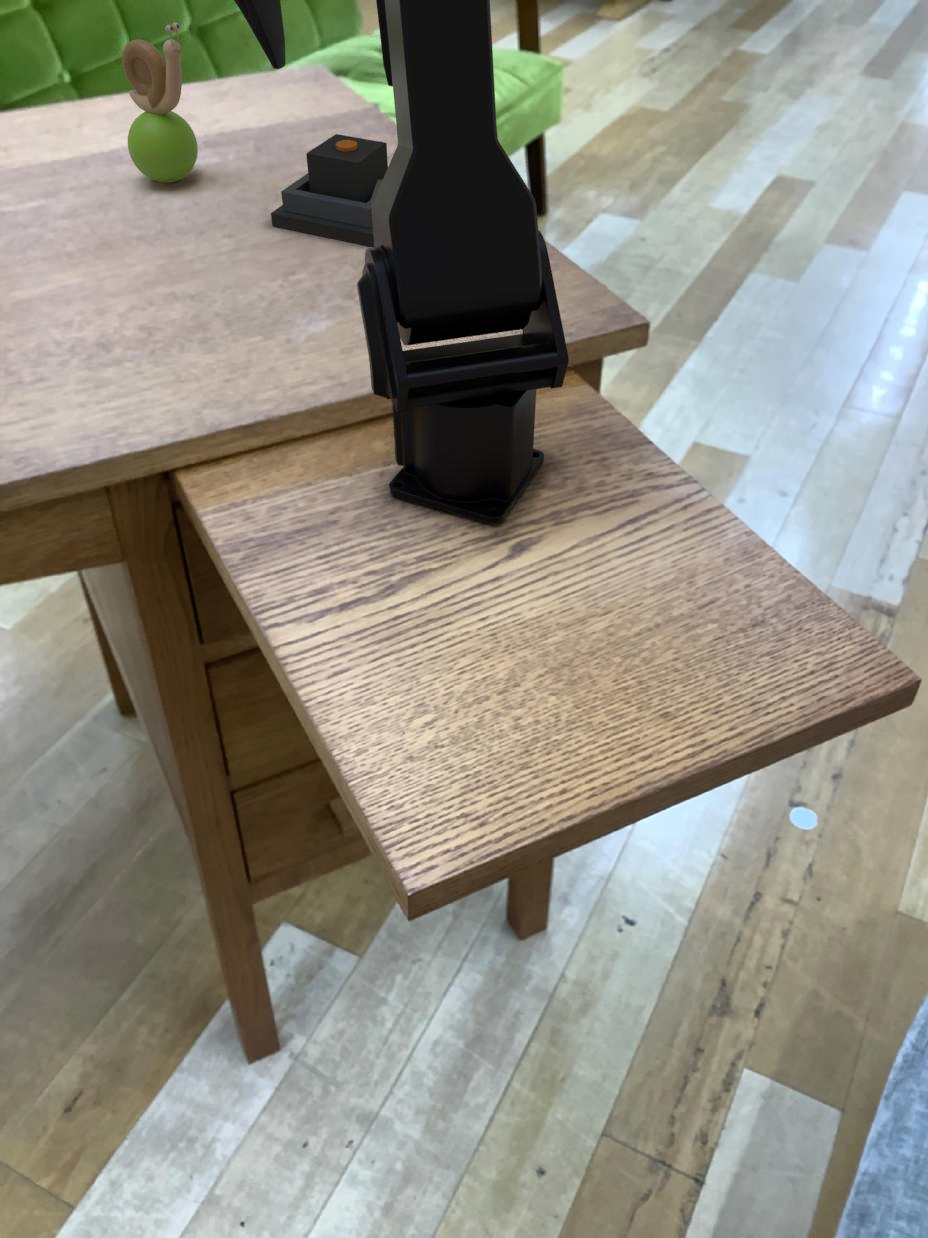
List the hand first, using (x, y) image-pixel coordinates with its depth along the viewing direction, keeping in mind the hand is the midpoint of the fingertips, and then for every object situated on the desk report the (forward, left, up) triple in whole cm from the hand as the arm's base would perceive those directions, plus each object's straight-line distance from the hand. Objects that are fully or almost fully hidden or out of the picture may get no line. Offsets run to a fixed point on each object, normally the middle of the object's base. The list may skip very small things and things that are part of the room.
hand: (335, 75), depth 72 cm
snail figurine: (+17, -1, -11) cm, 20 cm away
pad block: (0, -1, -9) cm, 9 cm away
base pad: (0, -1, -10) cm, 10 cm away
